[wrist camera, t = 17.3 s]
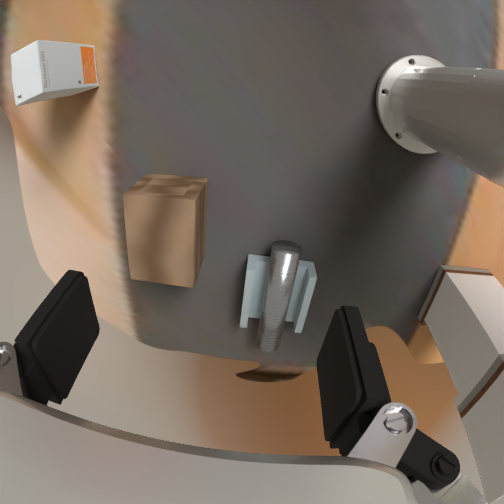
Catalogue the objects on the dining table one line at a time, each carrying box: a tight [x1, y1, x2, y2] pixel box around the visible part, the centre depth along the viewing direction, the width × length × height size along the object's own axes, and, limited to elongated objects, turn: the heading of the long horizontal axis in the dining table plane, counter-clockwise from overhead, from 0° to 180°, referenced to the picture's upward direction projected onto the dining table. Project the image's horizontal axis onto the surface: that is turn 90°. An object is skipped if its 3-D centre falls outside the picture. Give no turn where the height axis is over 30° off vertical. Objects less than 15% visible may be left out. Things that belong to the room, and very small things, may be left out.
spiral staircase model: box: [418, 265, 504, 504], centre depth 30 cm, size 11×11×35 cm
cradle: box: [240, 254, 317, 333], centre depth 44 cm, size 9×10×4 cm
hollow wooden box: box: [123, 174, 208, 288], centre depth 37 cm, size 8×11×8 cm
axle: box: [256, 240, 302, 352], centre depth 42 cm, size 17×4×4 cm, turn 174°
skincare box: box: [11, 40, 99, 106], centre depth 25 cm, size 6×4×12 cm
